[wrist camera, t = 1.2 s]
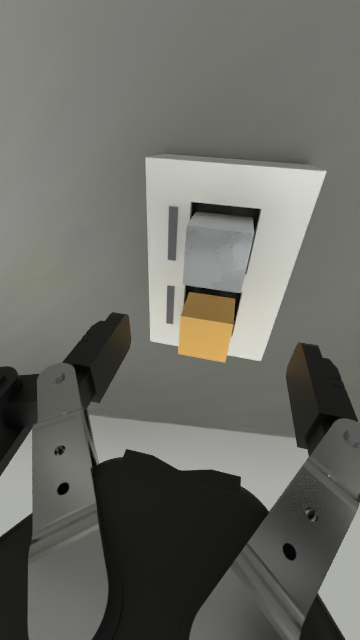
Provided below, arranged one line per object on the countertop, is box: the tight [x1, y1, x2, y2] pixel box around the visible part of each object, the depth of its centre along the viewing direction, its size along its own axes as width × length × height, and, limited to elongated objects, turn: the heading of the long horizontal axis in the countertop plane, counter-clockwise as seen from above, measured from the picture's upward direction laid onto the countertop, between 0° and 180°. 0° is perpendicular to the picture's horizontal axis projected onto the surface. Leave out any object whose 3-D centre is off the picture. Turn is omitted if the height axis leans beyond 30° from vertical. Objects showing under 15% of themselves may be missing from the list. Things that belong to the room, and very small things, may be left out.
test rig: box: [146, 154, 327, 361], centre depth 28 cm, size 20×14×6 cm
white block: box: [183, 211, 254, 293], centre depth 21 cm, size 5×5×4 cm
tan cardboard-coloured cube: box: [178, 292, 235, 362], centre depth 26 cm, size 5×5×4 cm
